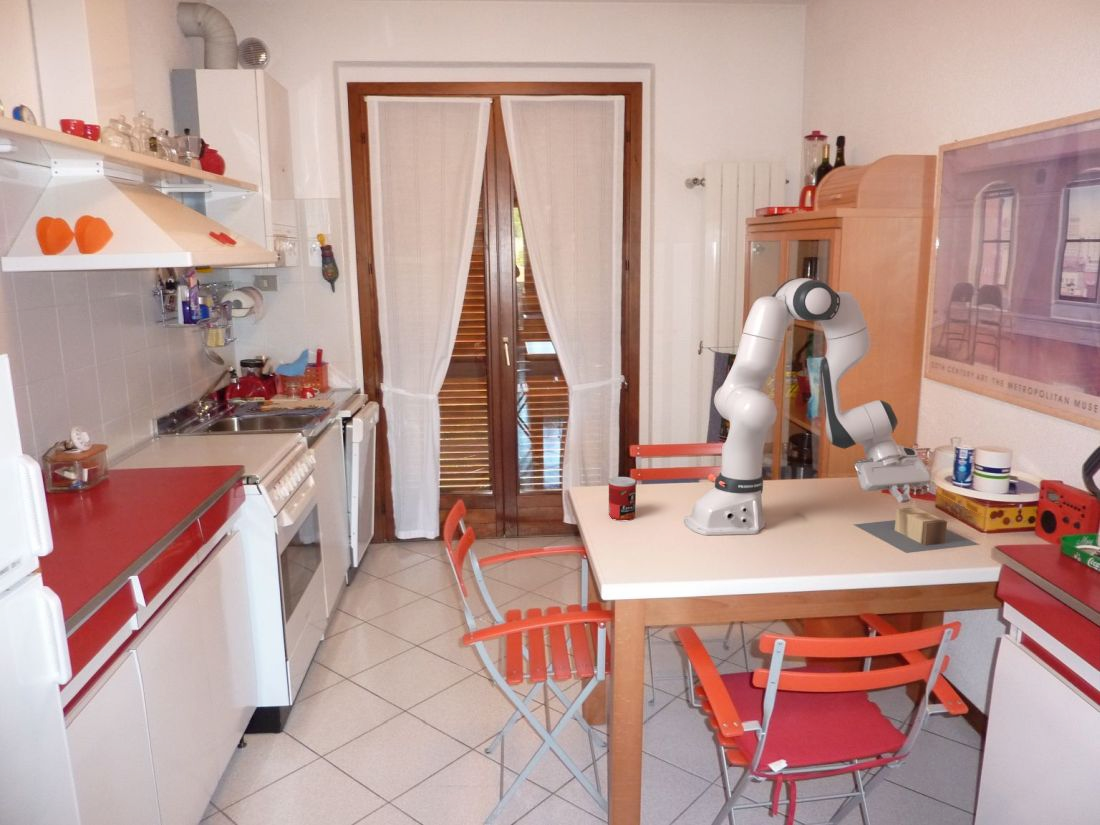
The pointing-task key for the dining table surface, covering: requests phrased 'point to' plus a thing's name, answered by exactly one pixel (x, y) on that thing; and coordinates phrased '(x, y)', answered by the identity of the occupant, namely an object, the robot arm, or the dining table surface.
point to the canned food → (622, 498)
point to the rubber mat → (906, 544)
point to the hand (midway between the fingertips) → (905, 501)
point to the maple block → (920, 526)
